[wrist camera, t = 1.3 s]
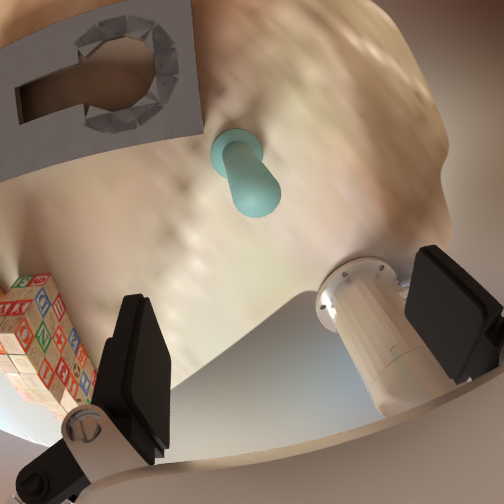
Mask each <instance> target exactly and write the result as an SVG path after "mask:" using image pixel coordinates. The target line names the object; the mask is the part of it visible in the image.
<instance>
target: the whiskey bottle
mask: <svg viewBox="0 0 504 504" xmlns="http://www.w3.org/2000/svg"><path fill="white" fill-rule="evenodd" d="M5 295H6V294H5V292H4V291H3V290H2V289H1V288H0V302H1V300H2V299H3V297H4V296H5Z"/></svg>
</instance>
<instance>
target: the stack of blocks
mask: <svg viewBox="0 0 504 504" xmlns="http://www.w3.org/2000/svg"><path fill="white" fill-rule="evenodd" d="M0 369H1V370H2V371H3V373H4V374H5V376H6V377H7V378H8V380H9V381H10V382H11V384H12V385H13V386H14V387H15V389H16V390H17V391H18V393H19V394H20V395H21V396H22V398H23V399H24V400H25V401H26V402H29V403H39V404H42V403H43V404H46V405H47V407H48V408H49V409H50V410H51V411H52V412H53V414H54V415H55V416H56V417H57V418H58V420H59V421H60V422H63V419H64V418H65V416H66V415H67V413H69V412H70V411H71V410H72V409H73V408H75V407H77V406H80V405H85V404H91V399H92V394H93V390H94V386H95V381H96V377H97V373H96V372H95V370H94V367H93V365H92V363H91V361H90V359H89V358H88V356H87V353H86V351H85V349H84V347H83V345H82V343H81V342H80V340H79V338H78V336H77V334H76V331H75V329H74V327H73V325H72V323H71V321H70V319H69V316H68V314H67V312H66V309H65V306H64V304H63V301H62V299H61V296H60V294H59V291H58V288H57V286H56V283H55V280H54V278H53V275H52V274H42V275H35V276H25V277H19V278H18V279H17V280H16V281H15V283H14V284H13V285H12V287H11V288H10V290H9V291H8V292H7V293H6V295H5V296H4V297H3V299H2V300H1V302H0Z"/></svg>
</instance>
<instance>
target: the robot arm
mask: <svg viewBox="0 0 504 504" xmlns="http://www.w3.org/2000/svg"><path fill="white" fill-rule="evenodd" d="M406 295H407V298H405V299H404V296H406ZM503 308H504V307H503V306H502V305H501V304H500V303H499V302H498V301H497V300H496V299H495V298H494V297H493V296H492V295H491V294H489V292H487V291H486V290H485V289H484V288H483V287H482V286H481V285H480V284H479V283H478V282H477V281H476V280H475V279H474V278H473V277H472V276H471V275H469V274H468V273H467V272H466V271H465V270H464V269H463V268H462V267H460V266H459V265H458V264H457V263H456V262H455V261H454V260H453V259H451V258H450V257H449V256H448V255H447V254H446V253H445V252H443V251H442V250H441V249H440V248H439V247H437V246H436V245H429V246H424V247H421V248H420V249H419V252H417V254H416V257H415V262H414V267H413V272H412V277H411V282H410V285H409V286H406V287H402V286H400V285H399V284H398V281H397V276H396V274H395V272H394V270H393V269H392V268H391V267H390V266H389V265H388V264H387V263H386V262H385V261H383V260H381V259H378V258H373V257H365V258H359V259H355V260H353V261H350V262H348V263H346V264H344V265H342V266H341V267H339V268H338V269H337V270H335V271H334V272H333V273H332V274H331V275H330V276H329V277H328V278H327V279H326V281H325V282H324V283H323V285H322V286H321V288H320V290H319V292H318V295H317V299H316V312H317V315H318V317H319V319H320V321H321V323H322V324H323V325H324V326H325V327H326V328H327V329H329V330H331V331H333V332H336V333H339V334H340V336H341V338H342V340H343V342H344V344H345V346H346V348H347V350H348V352H349V354H350V356H351V358H352V360H353V362H354V364H355V366H356V368H357V370H358V372H359V374H360V376H361V378H362V380H363V383H364V384H365V387H366V389H367V391H368V393H369V395H370V397H371V399H372V401H373V403H374V405H375V407H376V408H377V410H378V411H379V412H380V413H381V414H382V415H383V416H385V417H386V418H385V419H383V420H379V421H377V422H374V423H371V424H368V425H365V426H362V427H358V428H355V429H352V430H349V431H345V432H342V433H338V434H335V435H331V436H328V437H324V438H320V439H316V440H312V441H308V442H304V443H300V444H296V445H291V446H286V447H281V448H276V449H271V450H265V451H260V452H254V453H247V454H242V455H236V456H228V457H221V458H212V459H203V460H193V461H184V462H175V463H165V464H158V465H154V464H155V458H164V449H169V444H170V385H171V357H170V354H169V351H168V349H167V346H166V343H165V341H164V338H163V335H162V333H161V330H160V327H159V325H158V322H157V319H156V316H155V313H154V311H153V308H152V305H151V302H150V299H149V298H148V297H145V298H144V297H143V295H142V294H134V295H126V296H124V298H123V301H122V305H121V308H120V312H119V315H118V319H117V322H116V326H115V330H114V333H113V337H111V338H108V339H107V340H106V342H105V346H104V349H103V353H102V357H101V361H100V365H99V369H98V373H97V377H96V381H95V386H94V390H93V394H92V399H91V404H85V405H80V406H77V407H75V408H73V409H72V410H71V411H70V412H69V413H67V415H66V416H65V418H64V419H63V423H62V426H61V433H62V436H63V438H62V439H61V440H59V441H58V442H57V443H55V444H54V445H53V446H51V447H50V448H49V449H48V450H46V451H45V452H44V453H42V454H41V455H40V456H38V457H37V458H36V459H34V460H33V461H32V462H30V463H29V464H28V465H26V466H25V467H24V468H23V469H22V470H21V471H20V472H19V474H18V476H17V479H16V491H17V494H16V496H15V497H14V496H13V495H11V496H10V497H9V498H8V500H7V501H6V503H5V504H504V317H502V316H501V313H502V311H503ZM469 377H471V379H472V381H471V382H469V383H468V382H467V380H468V378H469Z"/></svg>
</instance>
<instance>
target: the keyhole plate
mask: <svg viewBox="0 0 504 504" xmlns="http://www.w3.org/2000/svg"><path fill="white" fill-rule="evenodd" d="M123 37H129V38H132V39H136V40H139V41H143V42H144V43H145V44H146V46H147V47H148V48H149V49H150V50H151V52H152V53H153V54H154V61H155V71H156V75H155V77H154V80H153V82H152V84H151V86H150V89H149V91H148V93H147V94H146V95H145V96H144V97H143V98H142V99H140V100H139V101H138V102H137V103H136V104H134V105H133V106H132V107H131V108H126V109H122V110H118V111H111V110H108V109H105V108H101V107H98V106H95V105H90V106H89V109H88V107H87V103H83V104H79V105H76V106H73V107H69V108H66V109H63V110H60V111H57V112H54V113H51V114H48V115H46V116H43V117H40V118H37V119H35V120H32V121H29V122H27V123H24V120H23V113H22V106H21V98H20V90H19V88H20V87H22V86H24V85H26V84H29V83H31V82H34V81H36V80H38V79H41V78H43V77H46V76H49V75H51V74H54V73H57V72H59V71H62V70H65V69H68V68H71V67H74V66H77V65H80V64H82V55H83V56H84V57H86V58H89V57H90V56H91V55H92V54H93V53H94V52H95V51H96V50H98V49H99V48H100V47H101V46H102V45H103V44H104V43H106V42H108V41H111V40H115V39H119V38H123ZM203 133H204V126H203V117H202V108H201V99H200V89H199V79H198V69H197V59H196V48H195V37H194V26H193V14H192V2H191V0H127V1H123V2H119V3H115V4H112V5H108V6H105V7H101V8H98V9H95V10H92V11H89V12H85V13H82V14H80V15H77V16H74V17H71V18H68V19H66V20H63V21H60V22H58V23H55V24H53V25H50V26H48V27H46V28H43V29H41V30H39V31H36V32H34V33H32V34H30V35H28V36H26V37H24V38H21V39H19V40H17V41H15V42H13V43H11V44H9V45H8V46H6V47H4V48H2V49H0V182H3V181H5V180H8V179H11V178H14V177H17V176H20V175H23V174H26V173H29V172H33V171H36V170H39V169H42V168H46V167H49V166H52V165H56V164H59V163H63V162H67V161H70V160H74V159H78V158H82V157H86V156H90V155H94V154H98V153H102V152H106V151H111V150H115V149H120V148H125V147H129V146H134V145H139V144H145V143H150V142H155V141H161V140H167V139H173V138H179V137H185V136H192V135H199V134H203Z"/></svg>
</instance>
